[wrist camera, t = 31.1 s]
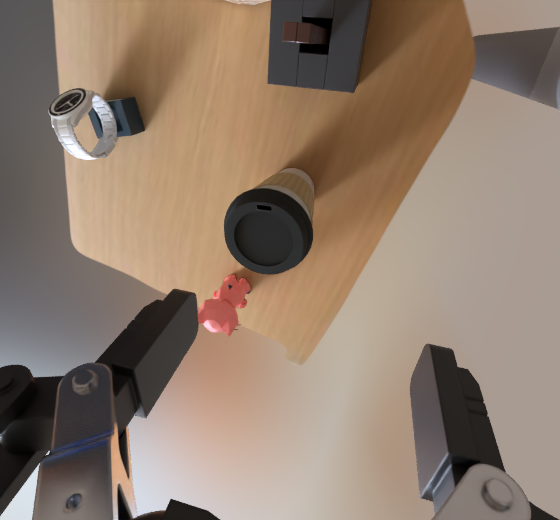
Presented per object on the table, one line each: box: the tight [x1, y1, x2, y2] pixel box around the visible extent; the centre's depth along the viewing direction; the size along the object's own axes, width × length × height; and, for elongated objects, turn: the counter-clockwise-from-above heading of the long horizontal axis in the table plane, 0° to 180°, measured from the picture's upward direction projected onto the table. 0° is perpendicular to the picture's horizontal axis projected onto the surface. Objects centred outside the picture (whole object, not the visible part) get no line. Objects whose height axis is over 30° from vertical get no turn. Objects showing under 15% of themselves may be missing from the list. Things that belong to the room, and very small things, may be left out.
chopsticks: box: [283, 21, 331, 44], centre depth 31 cm, size 2×1×16 cm, turn 85°
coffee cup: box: [224, 168, 314, 274], centre depth 42 cm, size 10×10×15 cm
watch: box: [48, 88, 145, 160], centre depth 43 cm, size 6×8×11 cm
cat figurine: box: [198, 274, 251, 336], centre depth 54 cm, size 7×7×12 cm
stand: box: [268, 0, 372, 93], centre depth 35 cm, size 9×9×7 cm
